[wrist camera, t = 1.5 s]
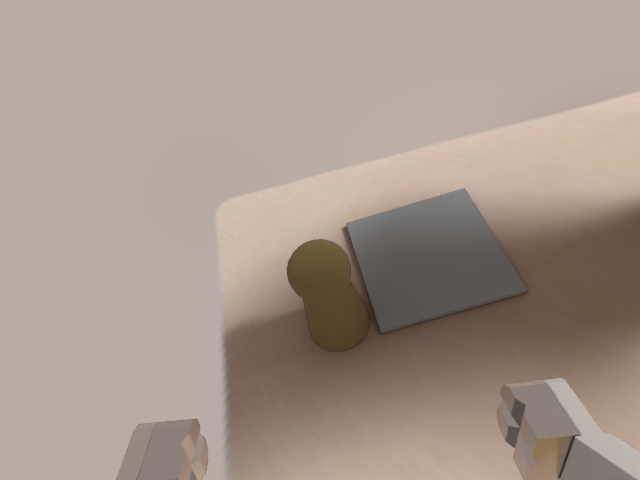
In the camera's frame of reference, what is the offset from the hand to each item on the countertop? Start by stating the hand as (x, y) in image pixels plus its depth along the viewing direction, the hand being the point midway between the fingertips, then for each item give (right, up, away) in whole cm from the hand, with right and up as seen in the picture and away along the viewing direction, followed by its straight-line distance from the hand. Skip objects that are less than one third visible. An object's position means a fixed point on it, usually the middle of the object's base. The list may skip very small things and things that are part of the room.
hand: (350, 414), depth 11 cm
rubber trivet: (+10, +3, +33) cm, 34 cm away
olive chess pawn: (+1, -4, +30) cm, 30 cm away
